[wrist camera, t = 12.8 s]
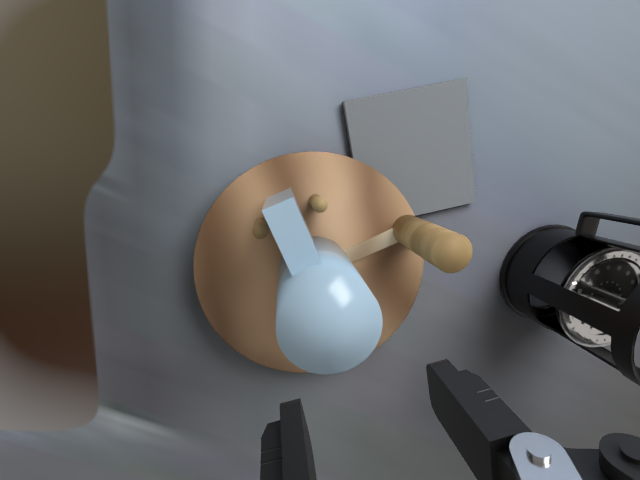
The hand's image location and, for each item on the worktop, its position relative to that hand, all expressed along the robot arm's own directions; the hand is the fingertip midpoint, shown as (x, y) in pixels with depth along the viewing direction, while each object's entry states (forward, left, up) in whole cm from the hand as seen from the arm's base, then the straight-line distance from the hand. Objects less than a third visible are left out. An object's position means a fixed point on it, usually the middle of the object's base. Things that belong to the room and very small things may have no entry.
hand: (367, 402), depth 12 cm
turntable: (0, 0, -16) cm, 16 cm away
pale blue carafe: (+2, 0, -15) cm, 15 cm away
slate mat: (+7, -10, -17) cm, 21 cm away
